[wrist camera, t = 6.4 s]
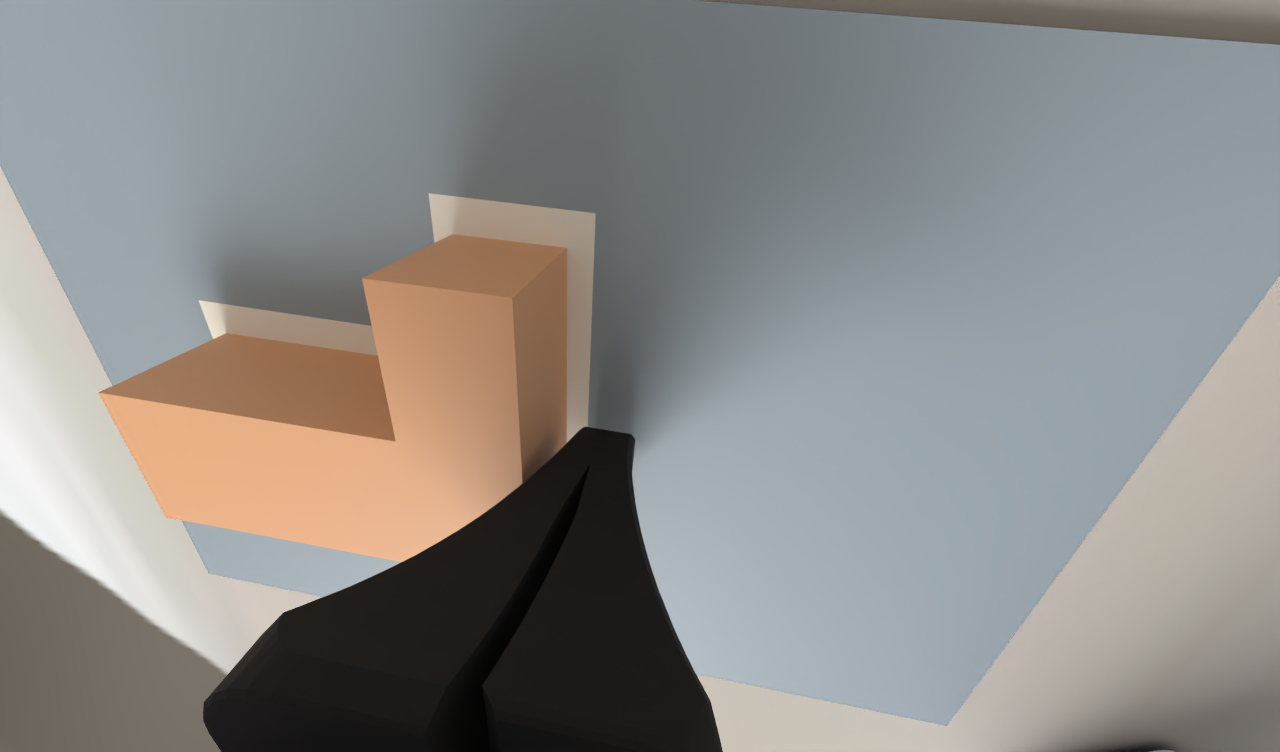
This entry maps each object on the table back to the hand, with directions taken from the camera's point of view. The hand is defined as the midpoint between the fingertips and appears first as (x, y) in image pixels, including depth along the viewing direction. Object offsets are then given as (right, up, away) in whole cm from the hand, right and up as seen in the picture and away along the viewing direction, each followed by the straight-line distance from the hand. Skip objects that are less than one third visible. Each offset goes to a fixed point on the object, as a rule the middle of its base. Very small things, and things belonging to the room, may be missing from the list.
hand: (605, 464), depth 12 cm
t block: (-5, +1, +2) cm, 6 cm away
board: (-1, +1, +1) cm, 2 cm away
